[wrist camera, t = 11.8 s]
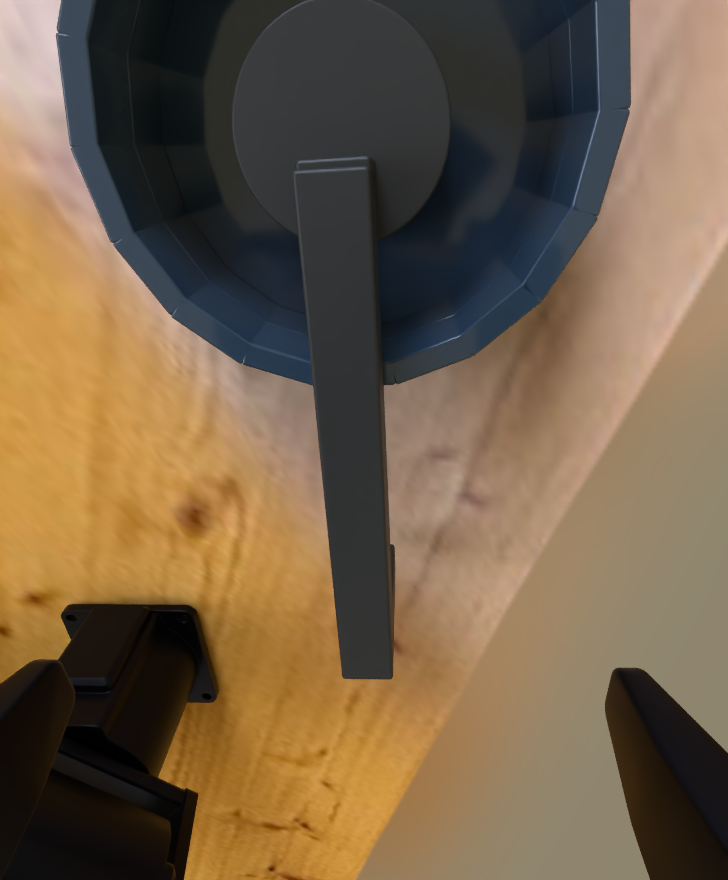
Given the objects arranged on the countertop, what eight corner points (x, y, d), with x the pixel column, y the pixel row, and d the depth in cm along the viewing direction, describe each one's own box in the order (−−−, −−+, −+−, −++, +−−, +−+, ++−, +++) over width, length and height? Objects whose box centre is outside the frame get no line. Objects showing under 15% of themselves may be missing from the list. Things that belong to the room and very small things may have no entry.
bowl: (550, 329, 18) (591, 379, 14) (191, 343, 19) (137, 393, 16) (606, -194, 13) (699, -348, 9) (88, -134, 14) (-41, -248, 10)
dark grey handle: (440, 567, 22) (451, 681, 17) (312, 567, 22) (285, 679, 17) (443, 19, 14) (465, -67, 9) (248, 36, 15) (169, -38, 10)
